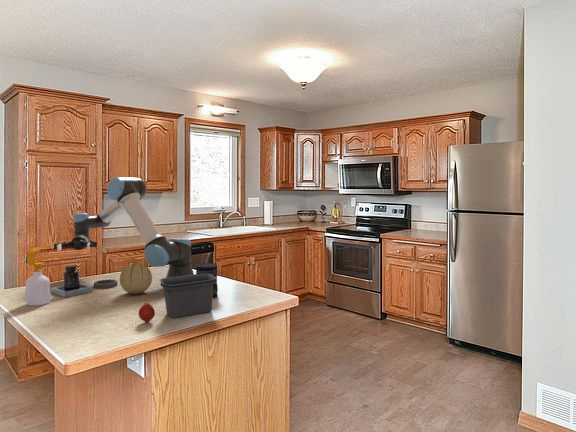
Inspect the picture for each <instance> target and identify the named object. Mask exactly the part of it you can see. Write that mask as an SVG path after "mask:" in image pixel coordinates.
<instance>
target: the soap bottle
mask: <svg viewBox="0 0 576 432" xmlns="http://www.w3.org/2000/svg"><path fill="white" fill-rule="evenodd" d="M42 249H43V247H38V246H37V247H34V248H32V249H30V250H28V251H27V253H26V260H27V265H28V266H29V265H30V266H32V267H33V268H34V269H33V270H32V276H30V277H29V278H27V280H25V303H26V305H27V306H30V307H38V306H39V307H40V306H44V305H48V304H49V303H51V282H50V278H49V277H47V276H45V275H43V272H42V271H43V270H42V269H40V267H41V266H42V265H44V264H45V262H37V261H36V253H37V252H39V251H41V250H42Z"/></svg>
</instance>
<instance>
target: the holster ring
mask: <svg viewBox="0 0 576 432" xmlns="http://www.w3.org/2000/svg"><path fill="white" fill-rule="evenodd" d="M115 287H118V280H117V279H102V280H101V279H100V280H97V281H94V282H93V288H95V289H109V288H115Z"/></svg>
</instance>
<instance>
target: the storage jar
mask: <svg viewBox="0 0 576 432" xmlns="http://www.w3.org/2000/svg"><path fill="white" fill-rule="evenodd" d="M195 267H196V271H195V274H211V275H213V276H215V277H216V279H215V281H216V283H215V284H213V296H212V300H213V299H216V298H217V297H218V296H219V295H218V293H219V292H218V291H219V290H218V288H219V286H218V264H217V263H216V262H202V263H197V264H195Z"/></svg>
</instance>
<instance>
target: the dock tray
mask: <svg viewBox="0 0 576 432" xmlns="http://www.w3.org/2000/svg"><path fill="white" fill-rule="evenodd" d="M92 292H93V286H91V285H88V284H84V283H80V289H76V290H71V291H64V285H61V286H55V287H51V294H53V295H56V296H60V297H62V298H69V297H73V296H79V295H84V294H89V293H92Z"/></svg>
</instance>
